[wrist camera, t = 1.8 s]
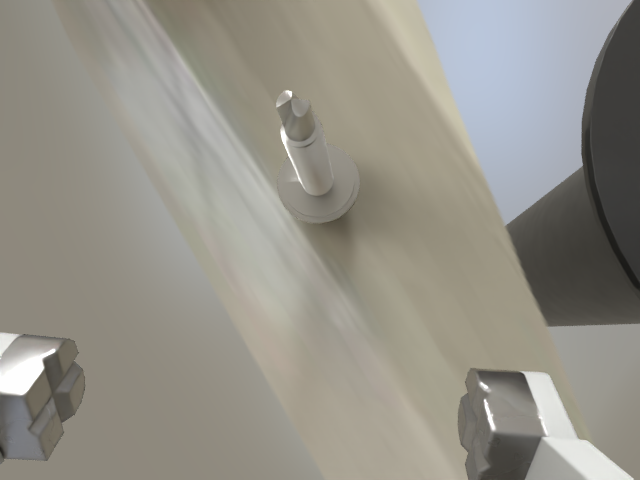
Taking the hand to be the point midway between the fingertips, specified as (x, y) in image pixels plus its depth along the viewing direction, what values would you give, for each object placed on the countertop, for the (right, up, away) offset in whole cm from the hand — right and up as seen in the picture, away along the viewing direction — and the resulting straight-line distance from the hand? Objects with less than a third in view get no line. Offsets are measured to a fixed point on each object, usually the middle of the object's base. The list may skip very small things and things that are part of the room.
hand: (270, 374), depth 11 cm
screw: (+1, +6, +22) cm, 22 cm away
